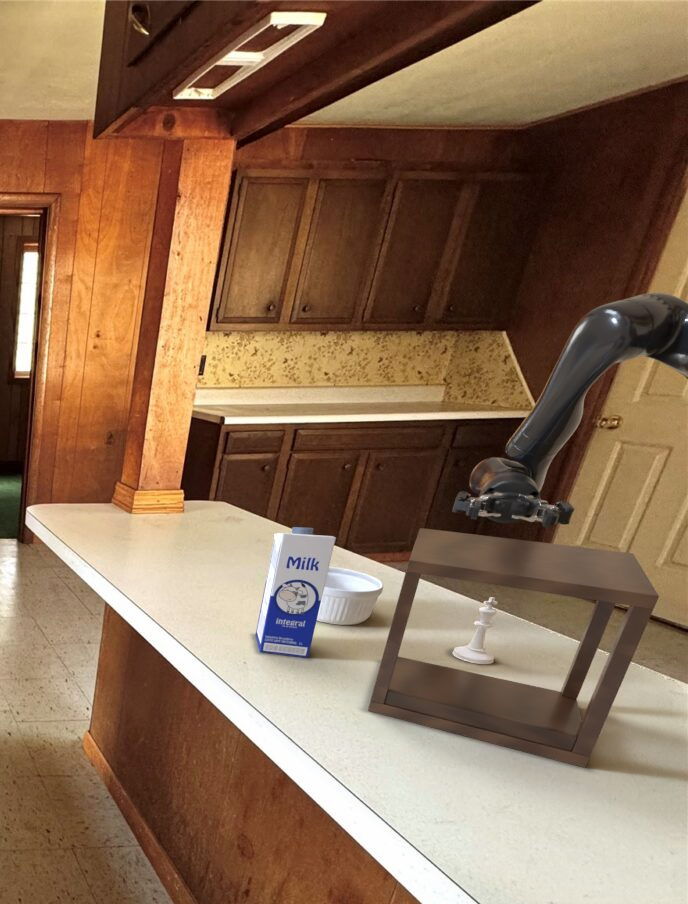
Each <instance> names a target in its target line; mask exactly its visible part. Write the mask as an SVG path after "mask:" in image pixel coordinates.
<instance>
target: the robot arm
mask: <svg viewBox="0 0 688 904" xmlns="http://www.w3.org/2000/svg"><path fill="white" fill-rule="evenodd" d="M642 357H644V358H649V359H651V360H654V361H657V362H659V363H661V364H663V365H665V366H667V367H669V368H670V369H673V371H676V372H678V373H679V374H681V375H682V376H684V378H686V379H687V380H688V302H687V301H685V300H684V299H682V298H679V297H678V296H675V295H673V294H670V293H665V292H646V293H642V294H638V295H634V296H631V297H627V298H622V299H619V300H614V301H612V302H611V301H610V302H608V303H604V304H602V305H600V306H597V307H595V308H592V309H591V310H590V311H589V312H587V313H585V314H584V315H583V316H582V317H581V318H580V319H579V321H578V322H577V323H576V325H575V327H574V328H573V330H572V331H571V333H570V335H569V337H568V338H567V341H566V343H565V345H564V347H563V349H562V351H561V353H560V355H559V358H558V359H557V361H556V363H555V365H554V368H553V369H552V372H551V374H550V375H549V378H548V379H547V382H546V384H545V386H544V388H543V390H542V391H541V394H540V395H539V397H538V398H537V400H536V402H535V403H534V406H533V407H532V408H531V410H530V411H529V412H528V414H527V416H526V417H525V418H524V419H523V421H522V422H521V424H520V425H519V426H518V427H517V429H516V430H515V432H514V433H513V434H512V436H511V437H510V438H509V440H508V442H507V443H506V445H505V450H504V451H505V453H506V455H507V456H508V458H510V459H511V460H509V459H507V458H504V457H499V456H491V457H488V458H485V459H483V460H481V461H479V463H478V464H476V466H475V467H474V468H473V469H472V471H471V473H470V476H469V479H468V480H469V482H468V484H469V488H470V490H471V491H472V492H473V493H474V494H476V495H477V496H478V497H473V496H472V494H471V493H469V492H467V491H463V490H462V491H459V492H458V493H457V494H456V497H455V500H454V503H453V507H452V510H451V512H453V513H454V514H460V513H462V512H465V516H468V517H470V520H477V519H478V517H486V518H487V519H489V520H491V521H493V522H495V523H501V524H514V523H518V522H521V521H526V522H530V523H540V522H541V524H542V527H543V528H550V527H551V526H556V525H557V523H558V524H561V525H570V522H571V519H572V516H573V513H574V511H575V508H574V506H573V505H572V504H571V503H570V501H567V500H559V501H558V502H557V501H556V502H555V504H549V502H548V501H547V500H544V499H541V493H540V492H541V491H542V489H543V485H544V484H545V479H546V477H547V472H548V470H549V467H550V465H551V463H552V461H553V459H554V458H555V456H556V455H557V454H558V453H559V451H560V450H561V449H562V448H563V447H564V445H565V444H566V443H567V442H568V441H569V440H570V438H571V437H572V436H573V434H574V433H575V432H576V430H577V429H578V427H579V425H580V423H581V421H582V418H583V415H584V407H585V406H584V405H585V403H584V402H585V398H586V396H587V393H588V392H589V390H590V389H591V387H592V386H593V384H594V383H595V382H597V380H598V379H599V378H600V377H601V376H602V375H603V374H604V373H605V372H606V371H608V370H609V369H611V367H612V366H613V365H615V364H618V363H622V362H626V361H630V360H631V361H632V360H635V359H638V358H642Z"/></svg>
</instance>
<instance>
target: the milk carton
mask: <svg viewBox="0 0 688 904" xmlns="http://www.w3.org/2000/svg"><path fill="white" fill-rule="evenodd" d="M273 536H274V538H273V543H272V548H271V552H270V559H269V564H268V569H267V574H266V579H265V583H264V589H263V595H262V598H261V599H262V600H261V605H260V609H259V615H258V620H257V625H256V629H255V639H256V642H257V646H258V650H259V652H260V653H267V654H273V655H281V656H290V657H297V658H305V659H306V658H307V659H309V656H310V655H309V654H310V652H311V651H310V650H311V646H312V642H313V637H314V633H315V629H316V626H317V625H316V624H317V622H318V621H317V616H318V612H319V608H320V603H321V599H322V595H323V590H324V586H325V582H326V577H327V573H328V569H329V567H330V564H331V561H332V560H331V559H332V556H333V552H334V547H335V544H336V540H337V537H335V536H333V535H318V534H314V527H302V526H299V527H298V526H293V527H292V528H291V532H290V533H289V532H277V533H273Z"/></svg>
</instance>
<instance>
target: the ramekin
mask: <svg viewBox="0 0 688 904" xmlns="http://www.w3.org/2000/svg"><path fill="white" fill-rule="evenodd" d="M383 589H384V583H383V582H382V581H381V580H380V579H379V578H377V577H375V576H373V575H370V574H367V573H365V572H362V571H357V570H354V569H349V568H345V567H344V568H343V567H336V566H329V569H328V573H327V577H326V582H325V586H324V590H323V595H322V599H321V603H320V608H319V612H318V616H317V621H316V622H321V623H324V624H325V623H326V624H331V625H339V626H340V625H341V626H352V625H353V626H354V625H359V624H362V623H363V622H365V621H366V620H367V619H369V618H370V617H371V615H372V612H374V608H375V606H376V604H377V601H378V598H379V596H381V595H382V593H383Z"/></svg>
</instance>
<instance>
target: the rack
mask: <svg viewBox="0 0 688 904" xmlns="http://www.w3.org/2000/svg"><path fill="white" fill-rule="evenodd" d="M421 575H426V576H427V575H428V576H432V577H433V576H434V577H438V578H439V577H440V578H446V579H453V580H460V581H467V582H474V583H479V584H486V585H493V586H498V587H506V588H511V589H518V590H524V591H531V592H538V593H546V594H550V595H557V596H565V597H571V598H577V599H584V600H592V601H595V603H594V606H593V608H592V610H591V614H590V616H589V618H588V621H587V623H586V626H585V628H584V631H583V634H582V636H581V638H580V642H579V644H578V646H577V649H576V651H575V653H574V657H573V659H572V662H571V664H570V667H569V669H568V672H567V674H566V677H565V679H564V681H563V684H562V687H561V689H560V691H558V690H554V689H550V688H544V687H541V686H536V685H531V684H527V683H522V682H517V681H513V680H508V679H503V678H499V677H495V676H489V675H485V674H481V673H475V672H472V671H466V670H463V669H457V668H452V667H449V666H443V665H439V664H435V663H430V662H425V661H420V660H415V659H411V658H408V657H402V656H399V653H400V649H401V646H402V643H403V639H404V635H405V631H406V629H407V626H408V625H407V624H408V621H409V618H410V614H411V611H412V607H413V603H414V600H415V597H416V593H417V589H418V586H419V582H420V578H421ZM659 598H660V595H659V593H658V592H657V590H656V589H655V587H654V585H653V584H652V582H651V580H650V578H649V577H648V576H647V574H646V572H645V571H644V569H643V567H642V565H641V564H640V563H639V561H638V559H637V557H636V556H635V554H634V553H633V552H625V551H617V550H609V549H608V550H607V549H601V548H600V549H599V548H591V547H583V546H575V545H565V544H558V543H549V542H541V541H533V540H526V539H525V540H523V539H515V538H509V537H499V536H491V535H481V534H475V533H474V534H473V533H465V532H458V531H448V530H441V529H433V528H432V529H431V528H423V527H420V528H419V530H418V532H417V536H416V539H415V541H414V545H413V548H412V551H411V554H410V555H409V559H408V562H407V566H406V569H405V573H404V577H403V581H402V584H401V589H400V591H399V594H398V599H397V601H396V606H395V611H394V614H393V618H392V621H391V624H390V627H389V632H388V635H387V639H386V643H385V646H384V649H383V652H382V653H383V654H382V656H381V661H380V664H379V668H378V671H377V675H376V679H375V683H374V686H373V690H372V693H371V697H370V701H369V703H368V704H369V705H368V708H367V711H369V712H372V713H376V714H380V715H384V716H387V717H390V718H394V719H398V720H403V721H406V722H409V723H413V724H418V725H421V726H425V727H429V728H433V729H436V730H440V731H445V732H447V733H452V734H455V735H459V736H462V737H463V736H464V737H466V738H470V739H473V740H474V739H475V740H478V741H482V742H486V743H490V744H494V745H496V746H500V747H505V748H508V749H512V750H516V751H520V752H524V753H527V754H532V755H534V756H539V757H542V758H547V759H550V760H553V761H558V762H562V763H565V764H569V765H573V766H576V767H580V768H586V767H587V765H588V763H589V760H590V757H591V754H592V753H593V751H594V748H595V746H596V744H597V741H598V739H599V737H600V734H601V732H602V730H603V727H604V725H605V723H606V721H607V718H608V716H609V714H610V711H611V709H612V707H613V704H614V702H615V699H616V697H617V695H618V692H619V691H620V688H621V685H622V683H623V680H624V678H625V676H626V674H627V672H628V669H629V667H630V665H631V663H632V659H633V658H634V656H635V653H636V651H637V648H638V646H639V644H640V641H641V640H642V637H643V635H644V632H645V630H646V629H647V625H648V623H649V621H650V618H651V616H652V614H653V611H654V609H655V608H656V607H655V606H656V605H657V602H658V600H659ZM616 604H618V605H624V606H628V608H627V611H626V613H625V615H624V618H623V620H622V623H621V625H620V628H619V630H618V633H617V634H616V637H615V639H614V642H613V644H612V647H611V649H610V652H609V653H608V656H607V659H606V660H605V664H604V666H603V669H602V671H601V674H600V676H599V679H598V681H597V683H596V685H595V688H594V690H593V693H592V695H591V697H590V699H589V702H588V705H587V707H586V709H585V712H584V714H583V716H582V717H581V712H580V708H579V703H578V697H579V695H580V692H581V690H582V688H583V685H584V683H585V680H586V678H587V675H588V673H589V669H590V668H591V665H592V663H593V660H594V658H595V657H596V656H595V655H596V654H597V651H598V648H599V645H600V644H601V641H602V638H603V636H604V633H605V631H606V629H607V626H608V624H609V621H610V619H611V616H612V614H613V611H614V609H615V606H616Z"/></svg>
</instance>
